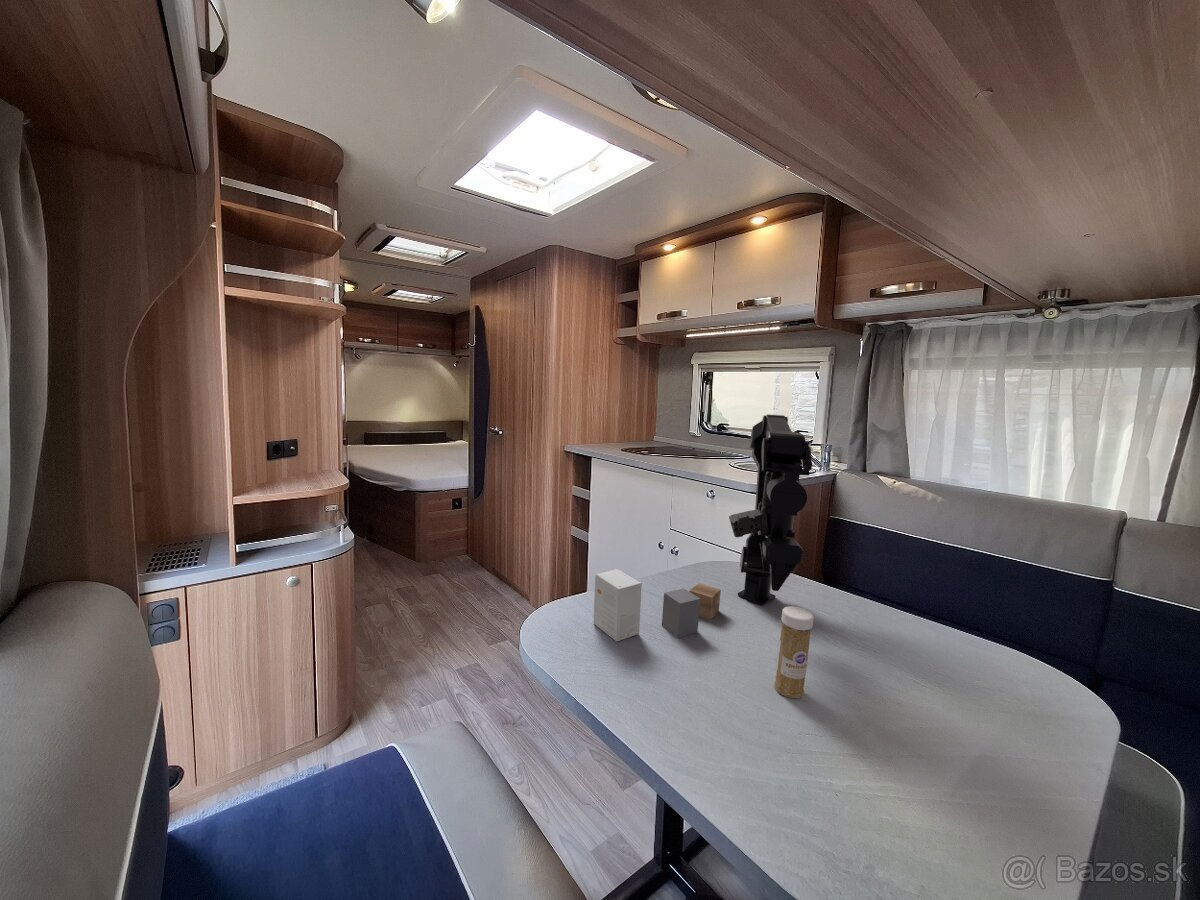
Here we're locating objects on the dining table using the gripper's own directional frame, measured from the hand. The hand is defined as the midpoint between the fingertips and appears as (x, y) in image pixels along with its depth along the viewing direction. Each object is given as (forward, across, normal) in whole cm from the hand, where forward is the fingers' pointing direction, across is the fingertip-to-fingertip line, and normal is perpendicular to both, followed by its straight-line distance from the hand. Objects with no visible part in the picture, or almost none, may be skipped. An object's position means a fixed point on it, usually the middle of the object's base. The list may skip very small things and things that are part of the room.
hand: (770, 580), depth 89 cm
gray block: (+12, +1, -16) cm, 20 cm away
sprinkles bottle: (+12, +16, +1) cm, 20 cm away
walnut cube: (+12, -8, -11) cm, 18 cm away
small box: (+12, +4, -28) cm, 31 cm away
